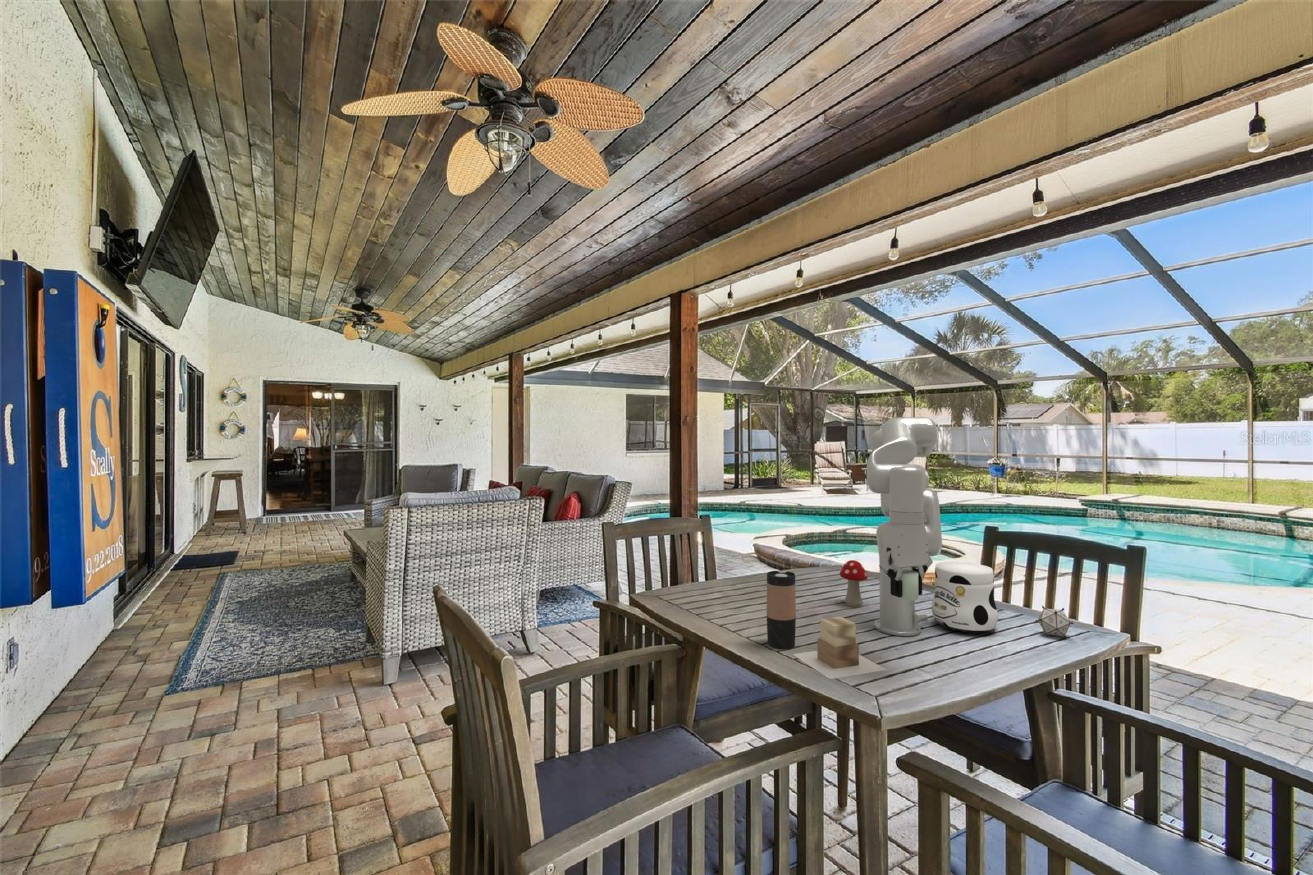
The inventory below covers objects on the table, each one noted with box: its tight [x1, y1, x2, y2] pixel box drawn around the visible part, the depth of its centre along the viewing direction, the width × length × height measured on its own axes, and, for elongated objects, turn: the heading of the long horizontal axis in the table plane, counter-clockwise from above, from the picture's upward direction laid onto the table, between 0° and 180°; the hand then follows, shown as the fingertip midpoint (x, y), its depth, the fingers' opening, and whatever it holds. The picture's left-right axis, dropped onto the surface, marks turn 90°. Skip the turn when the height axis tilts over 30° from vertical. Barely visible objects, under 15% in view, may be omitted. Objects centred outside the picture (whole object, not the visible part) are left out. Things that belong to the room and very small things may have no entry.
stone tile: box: [792, 650, 888, 680], centre depth 142 cm, size 16×16×1 cm
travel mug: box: [766, 570, 797, 651], centre depth 154 cm, size 8×8×20 cm
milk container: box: [931, 561, 999, 634], centre depth 170 cm, size 17×17×18 cm
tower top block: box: [819, 616, 857, 647], centre depth 142 cm, size 6×6×5 cm
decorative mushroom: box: [839, 559, 869, 608], centre depth 194 cm, size 10×9×15 cm
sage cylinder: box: [895, 569, 919, 601], centre depth 137 cm, size 5×5×6 cm
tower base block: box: [816, 637, 860, 669], centre depth 142 cm, size 7×7×5 cm
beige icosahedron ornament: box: [1035, 605, 1075, 640], centre depth 163 cm, size 9×8×10 cm
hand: (906, 594), depth 137 cm, fingers closed on sage cylinder, 5 cm apart
